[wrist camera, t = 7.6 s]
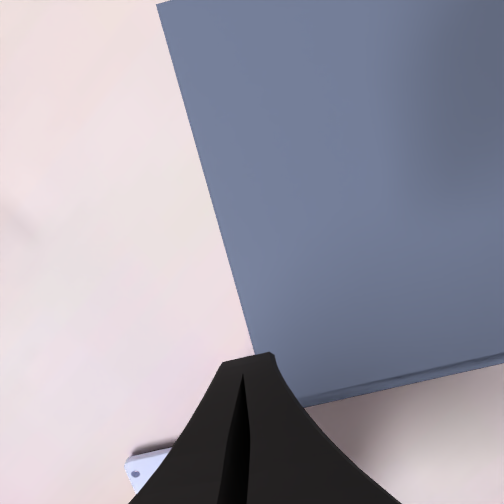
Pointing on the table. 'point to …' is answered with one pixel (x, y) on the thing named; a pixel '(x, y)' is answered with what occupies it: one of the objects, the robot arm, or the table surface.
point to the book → (354, 180)
